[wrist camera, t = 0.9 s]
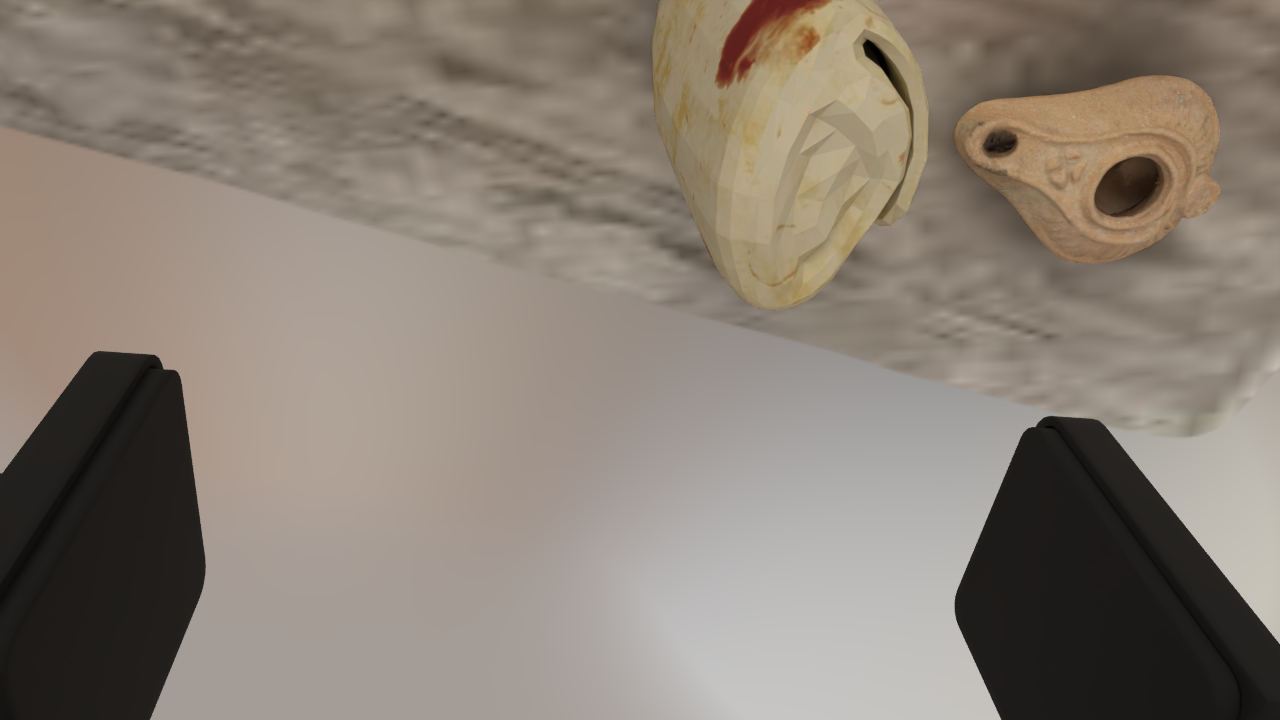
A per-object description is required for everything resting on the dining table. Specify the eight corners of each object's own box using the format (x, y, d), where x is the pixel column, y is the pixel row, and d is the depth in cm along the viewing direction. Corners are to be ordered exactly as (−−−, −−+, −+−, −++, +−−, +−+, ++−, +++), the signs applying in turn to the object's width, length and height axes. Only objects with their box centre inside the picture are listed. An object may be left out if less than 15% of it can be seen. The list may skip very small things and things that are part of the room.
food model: (663, -136, 39) (754, -28, 22) (821, -102, 40) (1019, 24, 24) (617, 102, 44) (664, 333, 28) (759, 126, 45) (886, 362, 29)
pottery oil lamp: (977, 17, 43) (1125, 21, 37) (1122, 96, 50) (1265, 109, 44) (912, 211, 45) (1044, 243, 39) (1061, 262, 52) (1192, 296, 46)
